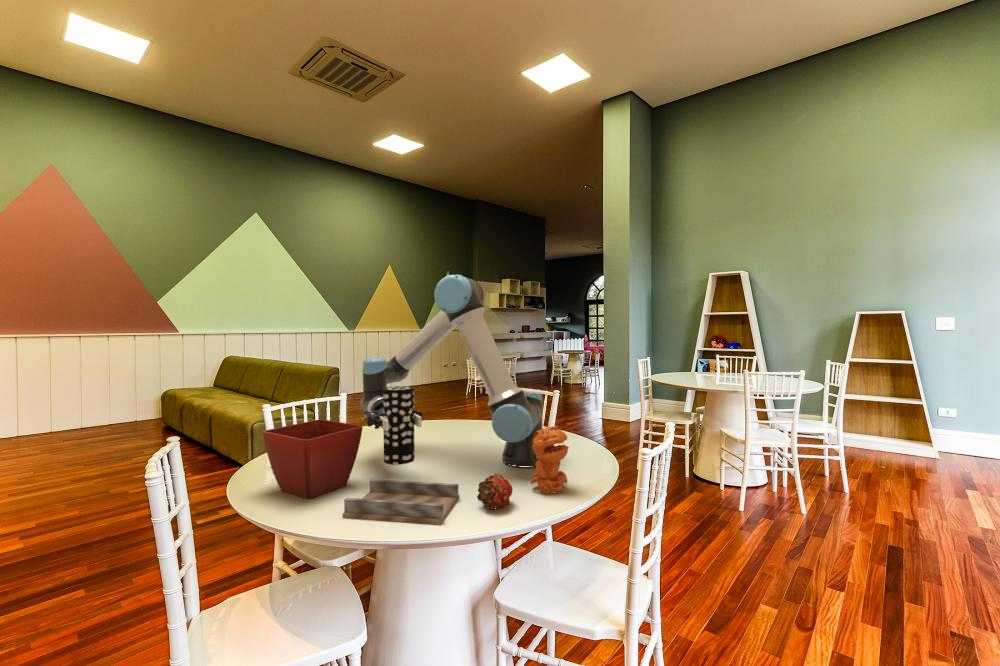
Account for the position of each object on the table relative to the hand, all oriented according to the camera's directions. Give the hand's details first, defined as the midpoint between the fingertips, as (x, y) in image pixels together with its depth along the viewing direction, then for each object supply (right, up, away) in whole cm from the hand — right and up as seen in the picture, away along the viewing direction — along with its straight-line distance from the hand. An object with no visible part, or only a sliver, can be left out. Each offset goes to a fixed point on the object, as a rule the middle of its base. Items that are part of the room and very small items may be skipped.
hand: (403, 423), depth 121 cm
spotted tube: (-2, -11, +4) cm, 12 cm away
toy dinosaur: (+39, -19, +3) cm, 44 cm away
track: (+2, -19, -9) cm, 21 cm away
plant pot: (-26, -19, +6) cm, 33 cm away
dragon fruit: (+24, -19, -8) cm, 32 cm away
